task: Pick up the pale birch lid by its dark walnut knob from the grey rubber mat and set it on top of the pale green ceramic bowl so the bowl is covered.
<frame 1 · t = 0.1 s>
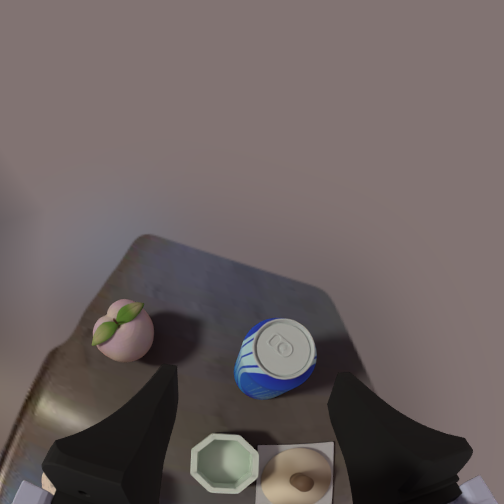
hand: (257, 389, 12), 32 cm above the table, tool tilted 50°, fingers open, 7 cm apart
mat: (295, 478, 34), on the table
lid: (296, 478, 34), resting on mat
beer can: (261, 374, 43), on the table
bowl: (223, 460, 35), on the table
decorative fruit: (134, 342, 43), on the table
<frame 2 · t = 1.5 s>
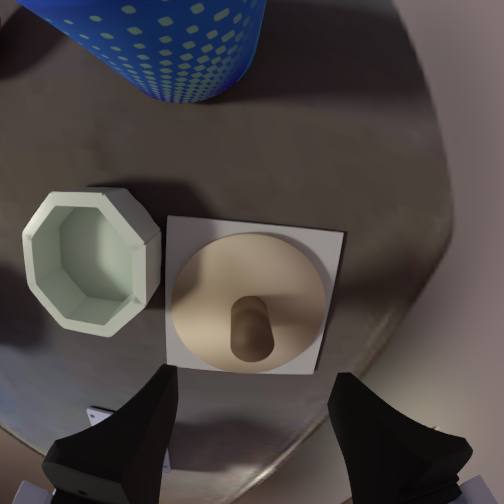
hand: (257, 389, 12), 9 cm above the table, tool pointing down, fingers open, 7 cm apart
mat: (248, 304, 21), on the table
lid: (248, 307, 20), resting on mat
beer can: (191, 51, 16), on the table
bowl: (103, 249, 19), on the table
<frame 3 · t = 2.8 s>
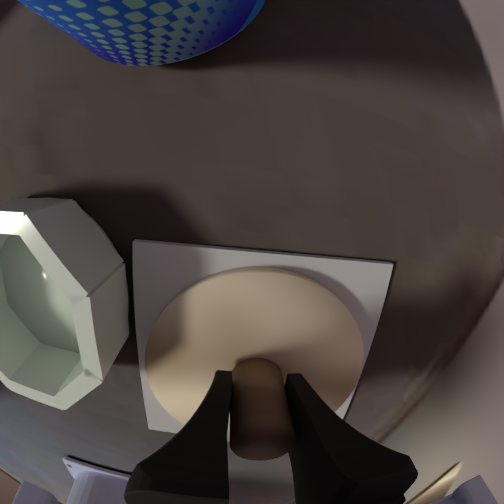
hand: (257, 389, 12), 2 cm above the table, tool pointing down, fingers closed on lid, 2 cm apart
mat: (254, 363, 14), on the table
lid: (255, 367, 14), resting on mat, touching gripper
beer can: (173, 0, 9), on the table
bowl: (53, 285, 13), on the table
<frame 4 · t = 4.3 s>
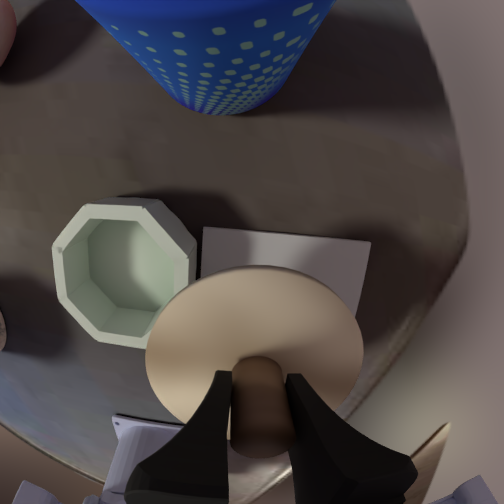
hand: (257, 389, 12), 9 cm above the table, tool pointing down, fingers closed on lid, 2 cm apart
mat: (280, 311, 21), on the table
lid: (255, 366, 14), point 7 cm above the table, touching gripper
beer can: (224, 61, 17), on the table
bowl: (135, 260, 20), on the table
decorative fruit: (6, 57, 14), on the table
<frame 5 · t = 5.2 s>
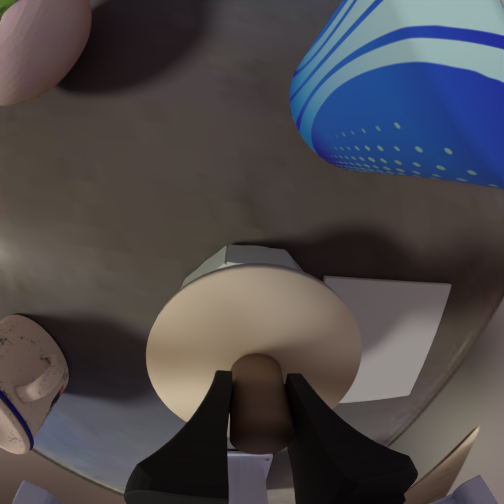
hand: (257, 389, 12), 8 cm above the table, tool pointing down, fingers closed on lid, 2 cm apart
mat: (375, 346, 22), on the table
lid: (254, 363, 14), point 6 cm above the table, touching gripper
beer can: (348, 108, 17), on the table
bowl: (249, 308, 20), on the table
decorative fruit: (66, 58, 15), on the table
teacup with lid: (42, 350, 21), on the table
when the fingers open (7 cm above the table, at t = 5.8 s): lid stays where it is, resting on bowl.
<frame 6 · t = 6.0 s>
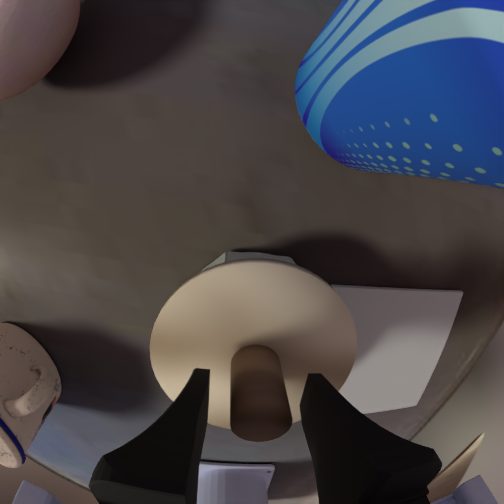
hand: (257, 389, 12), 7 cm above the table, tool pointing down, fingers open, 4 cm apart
mat: (384, 357, 20), on the table
lid: (254, 355, 15), point 4 cm above the table, touching bowl
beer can: (358, 103, 15), on the table
bowl: (250, 319, 19), on the table
decorative fruit: (55, 52, 13), on the table
teacup with lid: (34, 359, 19), on the table
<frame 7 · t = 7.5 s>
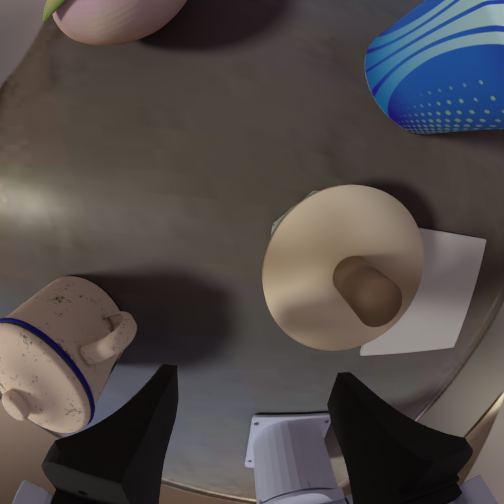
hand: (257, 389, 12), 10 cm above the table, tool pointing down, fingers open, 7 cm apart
mat: (429, 294, 23), on the table
lid: (347, 271, 18), point 4 cm above the table, touching bowl
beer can: (404, 84, 18), on the table
decorative fruit: (147, 17, 16), on the table
teacup with lid: (95, 316, 22), on the table
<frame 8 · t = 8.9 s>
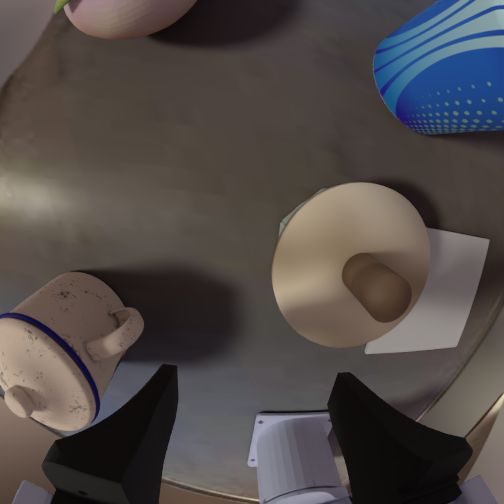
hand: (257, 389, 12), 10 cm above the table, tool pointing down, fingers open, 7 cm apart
mat: (433, 293, 23), on the table
lid: (355, 268, 18), point 4 cm above the table, touching bowl
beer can: (411, 85, 18), on the table
decorative fruit: (157, 13, 16), on the table
teacup with lid: (99, 312, 22), on the table
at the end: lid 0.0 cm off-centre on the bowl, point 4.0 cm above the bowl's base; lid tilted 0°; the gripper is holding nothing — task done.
